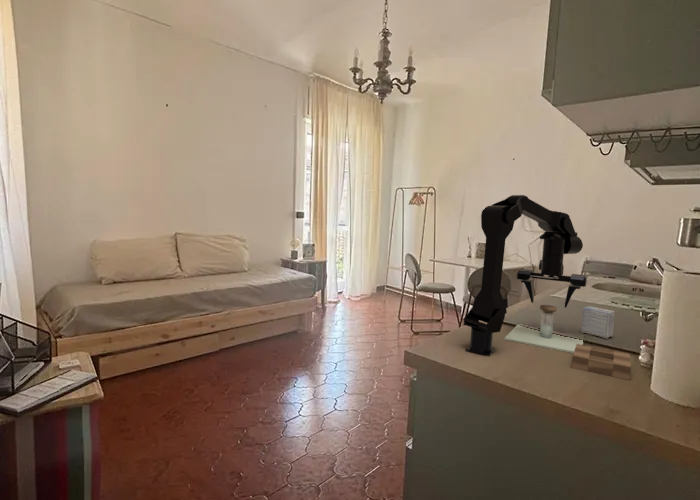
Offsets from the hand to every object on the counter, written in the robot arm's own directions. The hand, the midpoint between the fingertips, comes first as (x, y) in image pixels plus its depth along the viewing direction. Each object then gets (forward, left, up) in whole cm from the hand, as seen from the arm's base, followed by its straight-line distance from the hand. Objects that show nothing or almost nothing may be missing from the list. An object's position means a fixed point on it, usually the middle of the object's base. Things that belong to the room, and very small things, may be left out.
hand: (548, 305), depth 125 cm
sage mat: (0, 0, -11) cm, 11 cm away
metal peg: (0, 0, -10) cm, 10 cm away
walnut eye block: (-17, -15, -11) cm, 25 cm away
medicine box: (+15, -13, -11) cm, 22 cm away
